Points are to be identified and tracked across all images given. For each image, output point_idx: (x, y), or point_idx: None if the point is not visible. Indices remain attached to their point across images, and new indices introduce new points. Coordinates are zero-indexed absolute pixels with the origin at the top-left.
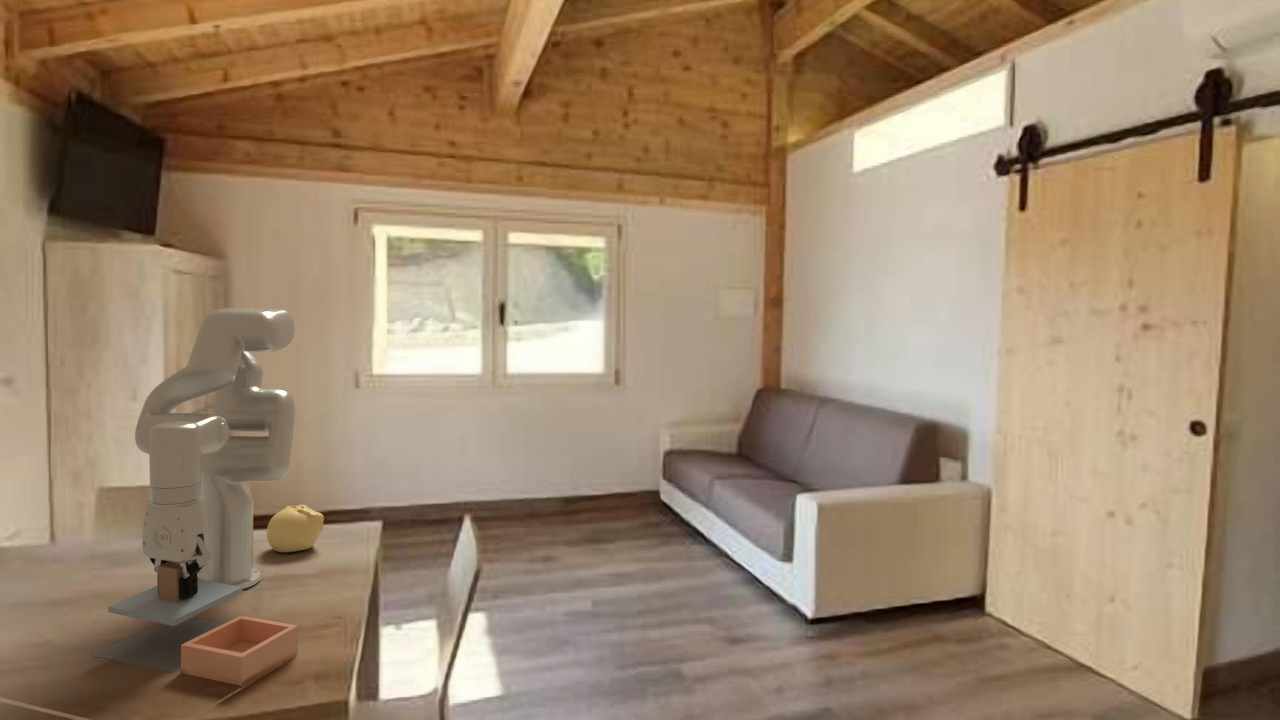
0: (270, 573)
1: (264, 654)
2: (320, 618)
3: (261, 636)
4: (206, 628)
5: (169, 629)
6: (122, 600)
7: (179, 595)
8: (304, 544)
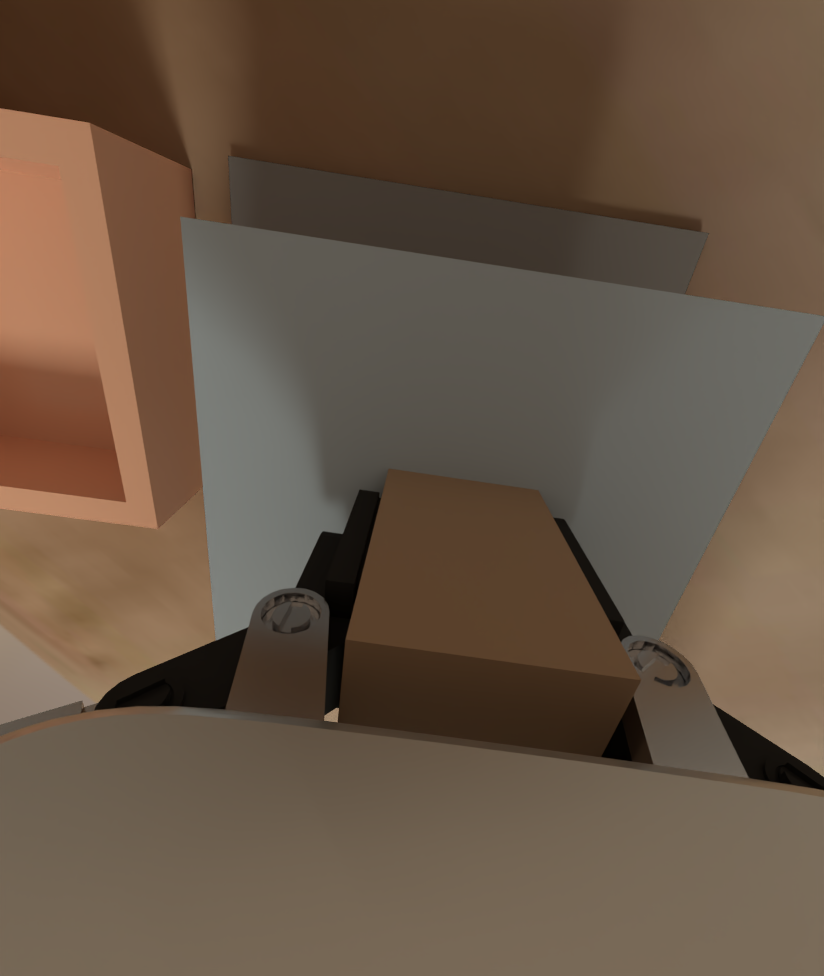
0: None
1: None
2: (139, 649)
3: (59, 458)
4: None
5: None
6: (768, 426)
7: (377, 502)
8: None
